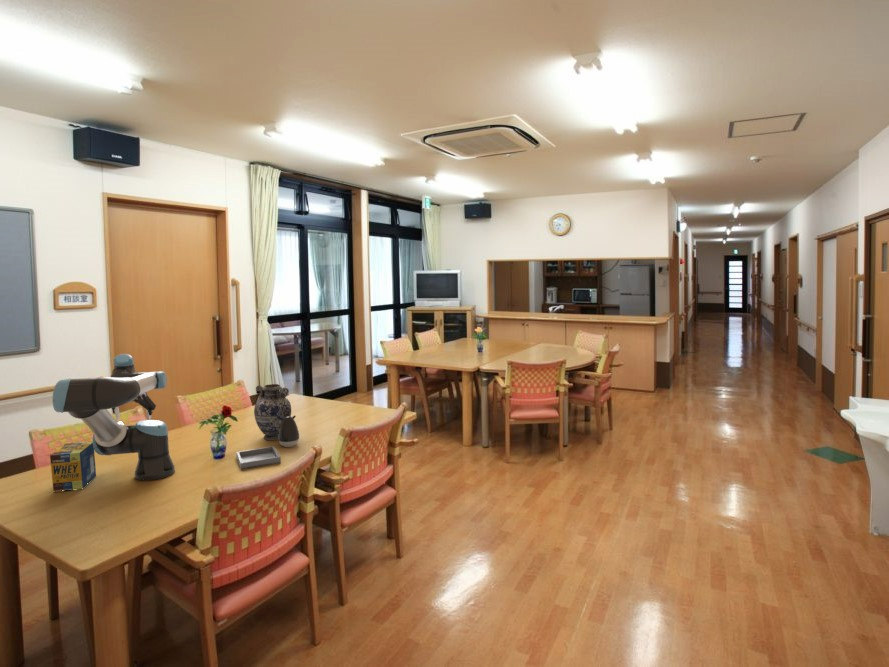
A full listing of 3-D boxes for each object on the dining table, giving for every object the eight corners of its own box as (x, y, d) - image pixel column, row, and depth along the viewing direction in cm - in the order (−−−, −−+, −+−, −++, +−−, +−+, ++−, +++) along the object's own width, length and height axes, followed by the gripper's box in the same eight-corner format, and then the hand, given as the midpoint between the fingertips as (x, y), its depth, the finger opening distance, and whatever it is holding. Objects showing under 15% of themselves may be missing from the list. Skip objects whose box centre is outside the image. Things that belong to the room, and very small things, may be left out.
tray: (280, 463, 239) (280, 456, 239) (241, 469, 232) (240, 463, 231) (274, 452, 254) (273, 446, 254) (236, 458, 247) (236, 451, 246)
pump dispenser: (304, 443, 267) (303, 414, 265) (290, 450, 257) (288, 419, 255) (288, 441, 271) (287, 412, 269) (274, 447, 261) (272, 417, 260)
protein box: (52, 493, 209) (49, 455, 207) (69, 478, 223) (65, 443, 222) (83, 490, 211) (79, 452, 210) (97, 475, 226) (94, 441, 224)
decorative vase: (245, 440, 273) (243, 387, 270) (269, 430, 290) (268, 380, 287) (278, 444, 265) (276, 390, 262) (301, 434, 282) (300, 383, 279)
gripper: (160, 381, 244) (164, 414, 256) (100, 377, 239) (108, 411, 251) (154, 391, 238) (159, 425, 250) (93, 387, 233) (101, 422, 244)
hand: (134, 418), depth 250 cm, fingers open, 13 cm apart
